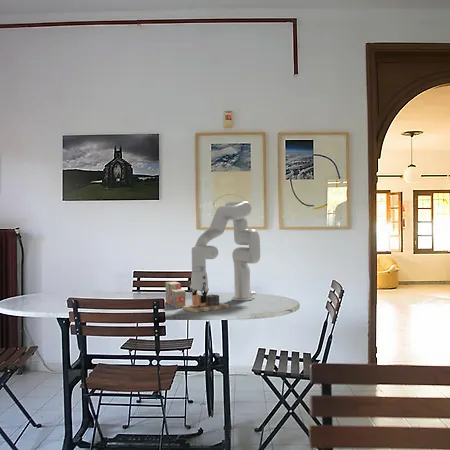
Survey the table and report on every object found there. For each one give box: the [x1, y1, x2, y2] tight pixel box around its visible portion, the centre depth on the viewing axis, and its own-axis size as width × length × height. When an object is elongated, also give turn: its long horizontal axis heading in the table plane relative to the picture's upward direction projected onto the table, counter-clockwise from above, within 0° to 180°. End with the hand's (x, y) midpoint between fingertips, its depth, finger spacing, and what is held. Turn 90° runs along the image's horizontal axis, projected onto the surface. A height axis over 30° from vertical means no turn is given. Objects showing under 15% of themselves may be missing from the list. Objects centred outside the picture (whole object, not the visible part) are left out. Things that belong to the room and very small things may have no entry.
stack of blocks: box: [165, 281, 186, 309], centre depth 277 cm, size 21×6×12 cm, turn 21°
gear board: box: [182, 294, 230, 313], centre depth 263 cm, size 22×13×7 cm, turn 128°
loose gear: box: [191, 294, 206, 306], centre depth 261 cm, size 7×7×5 cm
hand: (199, 301), depth 261 cm, fingers closed on loose gear, 7 cm apart
